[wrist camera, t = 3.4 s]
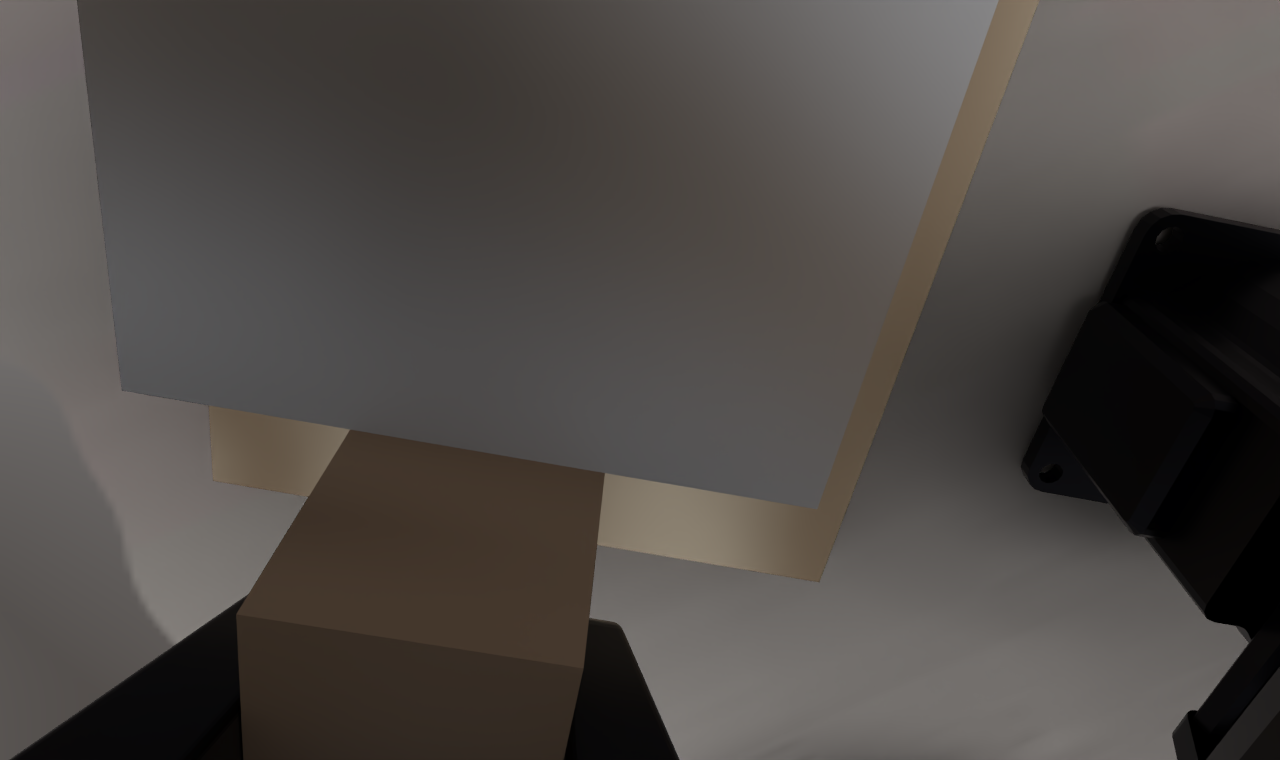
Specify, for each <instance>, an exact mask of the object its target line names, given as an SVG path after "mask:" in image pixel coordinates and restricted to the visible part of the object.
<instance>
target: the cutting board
mask: <svg viewBox="0 0 1280 760" xmlns="http://www.w3.org/2000/svg"><path fill="white" fill-rule="evenodd" d="M1038 3H1039V0H999V1H998V4H997V7H996V9H995V12H994V15H993V18H992V21H991V23H990V26H989V29H988V32H987V35H986V37H985V40H984V43H983V46H982V49H981V51H980V54H979V57H978V60H977V63H976V65H975V68H974V71H973V74H972V77H971V79H970V82H969V85H968V88H967V91H966V93H965V96H964V99H963V102H962V105H961V107H960V110H959V113H958V116H957V119H956V121H955V124H954V127H953V130H952V133H951V136H950V138H949V141H948V144H947V147H946V150H945V152H944V155H943V158H942V161H941V164H940V166H939V169H938V172H937V175H936V178H935V180H934V183H933V186H932V189H931V192H930V194H929V197H928V200H927V203H926V206H925V208H924V211H923V214H922V217H921V220H920V222H919V225H918V228H917V231H916V234H915V236H914V239H913V242H912V245H911V248H910V250H909V253H908V256H907V259H906V262H905V265H904V267H903V270H902V273H901V276H900V279H899V281H898V284H897V287H896V290H895V293H894V295H893V298H892V301H891V304H890V307H889V309H888V312H887V315H886V318H885V321H884V323H883V326H882V329H881V332H880V335H879V337H878V340H877V343H876V346H875V349H874V351H873V354H872V357H871V360H870V363H869V365H868V368H867V371H866V374H865V377H864V379H863V382H862V385H861V388H860V391H859V393H858V396H857V399H856V402H855V405H854V408H853V410H852V413H851V416H850V419H849V422H848V424H847V427H846V430H845V433H844V436H843V438H842V441H841V444H840V447H839V450H838V452H837V455H836V458H835V461H834V464H833V466H832V469H831V472H830V475H829V478H828V480H827V483H826V486H825V489H824V492H823V494H822V497H821V500H820V503H819V506H818V508H817V509H812V508H806V507H801V506H795V505H789V504H783V503H777V502H771V501H765V500H760V499H754V498H748V497H742V496H736V495H730V494H724V493H719V492H713V491H707V490H701V489H695V488H689V487H684V486H678V485H672V484H666V483H660V482H654V481H648V480H643V479H637V478H631V477H625V476H619V475H613V474H607V473H605V477H604V486H603V495H602V504H601V513H600V522H599V532H598V541H597V545H600V546H606V547H612V548H618V549H624V550H630V551H636V552H642V553H647V554H653V555H659V556H665V557H671V558H677V559H683V560H689V561H695V562H701V563H707V564H713V565H719V566H725V567H731V568H737V569H743V570H749V571H755V572H761V573H767V574H773V575H779V576H785V577H791V578H797V579H803V580H809V581H815V582H820V579H821V576H822V574H823V571H824V568H825V566H826V563H827V560H828V558H829V555H830V552H831V550H832V547H833V545H834V542H835V539H836V537H837V534H838V531H839V529H840V526H841V523H842V521H843V518H844V515H845V513H846V510H847V508H848V505H849V502H850V500H851V497H852V494H853V492H854V489H855V486H856V484H857V481H858V478H859V476H860V473H861V471H862V468H863V465H864V463H865V460H866V457H867V455H868V452H869V449H870V447H871V444H872V441H873V439H874V436H875V434H876V431H877V428H878V426H879V423H880V420H881V418H882V415H883V412H884V410H885V407H886V404H887V402H888V399H889V397H890V394H891V391H892V389H893V386H894V383H895V381H896V378H897V375H898V373H899V370H900V367H901V365H902V362H903V360H904V357H905V354H906V352H907V349H908V346H909V344H910V341H911V338H912V336H913V333H914V330H915V328H916V325H917V323H918V320H919V317H920V315H921V312H922V309H923V307H924V304H925V301H926V299H927V296H928V293H929V291H930V288H931V286H932V283H933V280H934V278H935V275H936V272H937V270H938V267H939V264H940V262H941V259H942V257H943V254H944V251H945V249H946V246H947V243H948V241H949V238H950V235H951V233H952V230H953V227H954V225H955V222H956V220H957V217H958V214H959V212H960V209H961V206H962V204H963V201H964V198H965V196H966V193H967V190H968V188H969V185H970V183H971V180H972V177H973V175H974V172H975V169H976V167H977V164H978V161H979V159H980V156H981V153H982V151H983V148H984V146H985V143H986V140H987V138H988V135H989V132H990V130H991V127H992V124H993V122H994V119H995V116H996V114H997V111H998V109H999V106H1000V103H1001V101H1002V98H1003V95H1004V93H1005V90H1006V87H1007V85H1008V82H1009V79H1010V77H1011V74H1012V72H1013V69H1014V66H1015V64H1016V61H1017V58H1018V56H1019V53H1020V50H1021V48H1022V45H1023V42H1024V40H1025V37H1026V35H1027V32H1028V29H1029V27H1030V24H1031V21H1032V19H1033V16H1034V13H1035V11H1036V8H1037V5H1038ZM209 419H210V436H211V453H212V470H213V481H217V482H223V483H229V484H235V485H241V486H247V487H253V488H259V489H265V490H271V491H277V492H283V493H289V494H295V495H301V496H307V497H309V495H310V494H311V492H312V491H313V489H314V487H315V486H316V484H317V482H318V481H319V479H320V478H321V476H322V474H323V473H324V471H325V469H326V468H327V466H328V465H329V463H330V461H331V460H332V458H333V456H334V455H335V453H336V452H337V450H338V448H339V447H340V445H341V443H342V442H343V440H344V439H345V437H346V435H347V434H348V432H349V431H350V429H344V428H338V427H333V426H327V425H321V424H315V423H309V422H303V421H297V420H292V419H286V418H280V417H274V416H268V415H262V414H256V413H251V412H245V411H239V410H233V409H227V408H221V407H216V406H210V405H209Z"/></svg>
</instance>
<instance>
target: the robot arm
mask: <svg viewBox="0 0 1280 760" xmlns="http://www.w3.org/2000/svg"><path fill="white" fill-rule="evenodd" d="M1168 227H1173V232H1172V236H1171V237H1170V238H1169V239H1168V240H1167V241H1166V242H1164V243H1163V244H1161V245H1156V244H1155V243H1156V239H1157V236H1158V235H1159V234H1160V233H1161V231H1163V230H1164V229H1166V228H1168ZM1042 412H1043V414H1044V417H1043V419H1042V421H1041V423H1040V425H1039V427H1038V429H1037V431H1036V434H1035V436H1034V438H1033V440H1032V442H1031V444H1030V446H1029V448H1028V450H1027V452H1026V454H1025V456H1024V458H1023V461H1022V465H1021V468H1022V472H1023V474H1024V476H1025V478H1026V479H1027V481H1028V482H1029V484H1030V485H1031V486H1032V487H1033V488H1034V489H1036V490H1039V491H1042V492H1047V493H1052V494H1058V495H1064V496H1069V497H1075V498H1081V499H1086V500H1092V501H1098V502H1103V503H1109V505H1110V506H1111V507H1112V509H1113V510H1114V511H1115V512H1116V514H1117V515H1118V516H1119V518H1120V519H1121V520H1122V522H1123V523H1124V524H1125V526H1126V527H1127V528H1128V530H1129V531H1130V532H1131V533H1133V534H1134V535H1137V536H1143V537H1145V539H1146V540H1147V541H1148V543H1149V544H1150V545H1151V547H1152V548H1153V549H1154V550H1155V552H1156V553H1157V554H1158V556H1159V557H1160V558H1161V560H1162V561H1163V562H1164V563H1165V565H1166V566H1167V567H1168V569H1169V570H1170V571H1171V573H1172V574H1173V575H1174V576H1175V578H1176V579H1177V580H1178V582H1179V583H1180V584H1181V586H1182V587H1183V588H1184V589H1185V591H1186V592H1187V593H1188V595H1189V596H1190V597H1191V599H1192V600H1193V601H1194V602H1195V604H1196V605H1197V606H1198V608H1199V609H1200V610H1201V612H1202V613H1203V614H1204V615H1205V617H1206V618H1207V619H1209V620H1211V621H1213V622H1217V623H1222V624H1228V625H1234V626H1236V627H1237V629H1238V630H1239V631H1240V632H1241V634H1242V635H1243V636H1244V637H1245V639H1246V640H1247V641H1248V642H1249V644H1248V645H1247V646H1246V648H1245V649H1244V650H1243V652H1242V653H1241V654H1240V656H1239V657H1238V658H1237V660H1236V661H1235V662H1234V664H1233V665H1232V666H1231V668H1230V669H1229V670H1228V672H1227V673H1226V674H1225V676H1224V677H1223V678H1222V679H1221V681H1220V682H1219V683H1218V685H1217V686H1216V687H1215V689H1214V690H1213V691H1212V693H1211V694H1210V695H1209V697H1208V698H1207V699H1206V701H1205V702H1204V703H1203V705H1202V706H1201V707H1200V709H1199V710H1198V711H1196V710H1191V711H1189V712H1188V713H1187V714H1186V715H1185V717H1184V718H1183V719H1182V721H1181V722H1180V723H1179V725H1178V726H1177V728H1176V729H1175V730H1174V732H1173V736H1172V737H1173V742H1174V746H1175V750H1176V755H1177V759H1178V760H1280V230H1277V229H1272V228H1267V227H1262V226H1257V225H1252V224H1247V223H1242V222H1237V221H1232V220H1227V219H1222V218H1217V217H1212V216H1208V215H1203V214H1198V213H1193V212H1188V211H1183V210H1178V209H1173V208H1160V209H1158V210H1155V211H1152V212H1150V213H1149V214H1147V215H1146V216H1145V217H1143V218H1142V219H1141V220H1140V222H1139V223H1138V224H1137V226H1136V227H1135V229H1134V231H1133V233H1132V235H1131V237H1130V239H1129V241H1128V243H1127V245H1126V247H1125V250H1124V252H1123V254H1122V256H1121V258H1120V260H1119V262H1118V264H1117V266H1116V268H1115V270H1114V272H1113V274H1112V276H1111V278H1110V281H1109V283H1108V285H1107V287H1106V289H1105V291H1104V293H1103V295H1102V297H1101V299H1100V301H1099V303H1098V304H1097V305H1096V306H1095V307H1094V308H1092V309H1091V310H1090V311H1089V312H1088V315H1087V317H1086V319H1085V321H1084V323H1083V325H1082V327H1081V329H1080V331H1079V333H1078V335H1077V337H1076V340H1075V342H1074V344H1073V346H1072V348H1071V350H1070V352H1069V354H1068V356H1067V358H1066V360H1065V362H1064V365H1063V367H1062V369H1061V371H1060V373H1059V375H1058V377H1057V379H1056V381H1055V383H1054V385H1053V387H1052V390H1051V392H1050V394H1049V396H1048V398H1047V400H1046V402H1045V404H1044V406H1043V409H1042ZM1049 464H1055V466H1054V467H1053V468H1052V469H1051V470H1050V471H1048V472H1045V473H1040V471H1041V470H1042V468H1043V467H1045V466H1047V465H1049ZM247 596H248V595H246V596H245V597H244V598H242V599H241V600H239V601H238V602H236V603H235V604H234V605H232V606H231V607H229V608H228V609H226V610H225V611H223V612H222V613H221V614H219V615H218V616H216V617H215V618H213V619H212V620H210V621H209V622H208V623H206V624H205V625H203V626H202V627H200V628H199V629H197V630H196V631H195V632H193V633H192V634H190V635H189V636H187V637H186V638H184V639H183V640H182V641H180V642H179V643H177V644H176V645H174V646H173V647H172V648H170V649H169V650H167V651H166V652H164V653H163V654H161V655H160V656H159V657H157V658H156V659H155V660H153V661H151V662H150V663H149V664H147V665H146V666H144V667H143V668H141V669H140V670H138V671H137V672H135V673H134V674H133V675H131V676H130V677H128V678H127V679H125V680H124V681H122V682H121V683H120V684H118V685H117V686H115V687H114V688H112V689H111V690H109V691H108V692H107V693H105V694H104V695H102V696H101V697H99V698H98V699H96V700H95V701H94V702H92V703H91V704H89V705H88V706H87V707H85V708H84V709H82V710H81V711H79V712H78V713H76V714H75V715H73V716H72V717H70V718H69V719H68V720H66V721H65V722H63V723H62V724H60V725H59V726H58V727H56V728H55V729H53V730H52V731H50V732H49V733H47V734H46V735H45V736H43V737H42V738H40V739H39V740H37V741H36V742H34V743H33V744H31V745H30V746H29V747H27V748H26V749H24V750H23V751H21V752H20V753H19V754H17V755H16V756H14V757H13V758H12V759H10V760H243V743H242V722H241V702H240V681H239V661H238V641H237V620H236V614H237V612H238V611H239V609H240V607H241V606H242V604H243V602H244V601H245V599H246V598H247ZM564 760H679V758H678V755H677V753H676V751H675V748H674V746H673V744H672V741H671V739H670V737H669V735H668V732H667V730H666V728H665V725H664V723H663V721H662V719H661V716H660V714H659V712H658V709H657V707H656V705H655V702H654V700H653V698H652V696H651V693H650V691H649V689H648V686H647V684H646V682H645V679H644V677H643V675H642V673H641V670H640V668H639V666H638V663H637V661H636V659H635V657H634V654H633V652H632V650H631V647H630V645H629V643H628V640H627V638H626V636H625V634H624V632H623V630H622V628H621V626H620V625H618V624H617V623H615V622H610V621H604V620H598V619H592V618H589V623H588V632H587V641H586V650H585V660H584V669H583V673H582V678H581V682H580V687H579V691H578V696H577V701H576V705H575V710H574V714H573V719H572V723H571V728H570V732H569V737H568V742H567V746H566V751H565V755H564Z"/></svg>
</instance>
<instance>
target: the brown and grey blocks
mask: <svg viewBox="0 0 1280 760" xmlns="http://www.w3.org/2000/svg"><path fill="white" fill-rule="evenodd" d="M998 1H999V0H77V5H78V14H79V23H80V31H81V40H82V49H83V57H84V66H85V75H86V83H87V92H88V101H89V109H90V118H91V127H92V135H93V144H94V153H95V161H96V170H97V179H98V187H99V196H100V205H101V213H102V222H103V231H104V240H105V248H106V257H107V266H108V274H109V283H110V292H111V300H112V309H113V318H114V326H115V335H116V344H117V352H118V361H119V370H120V378H121V387H122V391H128V392H134V393H139V394H145V395H151V396H157V397H163V398H169V399H175V400H180V401H186V402H192V403H198V404H204V405H210V406H216V407H221V408H227V409H233V410H239V411H245V412H251V413H256V414H262V415H268V416H274V417H280V418H286V419H292V420H297V421H303V422H309V423H315V424H321V425H327V426H333V427H338V428H344V429H350V431H349V432H348V434H347V435H346V437H345V439H344V440H343V442H342V443H341V445H340V447H339V448H338V450H337V452H336V453H335V455H334V456H333V458H332V460H331V461H330V463H329V465H328V466H327V468H326V469H325V471H324V473H323V474H322V476H321V478H320V479H319V481H318V482H317V484H316V486H315V487H314V489H313V491H312V492H311V494H310V495H309V497H308V499H307V500H306V502H305V504H304V505H303V507H302V508H301V510H300V512H299V513H298V515H297V516H296V518H295V520H294V521H293V523H292V525H291V526H290V528H289V529H288V531H287V533H286V534H285V536H284V538H283V539H282V541H281V542H280V544H279V546H278V547H277V549H276V551H275V552H274V554H273V555H272V557H271V559H270V560H269V562H268V564H267V565H266V567H265V568H264V570H263V572H262V573H261V575H260V577H259V578H258V580H257V581H256V583H255V585H254V586H253V588H252V589H251V591H250V593H249V594H248V596H247V598H246V599H245V601H244V602H243V604H242V606H241V607H240V609H239V611H238V612H237V614H236V620H237V641H238V661H239V681H240V702H241V722H242V743H243V760H564V755H565V751H566V746H567V742H568V737H569V732H570V728H571V723H572V719H573V714H574V710H575V705H576V701H577V696H578V691H579V687H580V682H581V678H582V673H583V669H584V660H585V650H586V641H587V632H588V623H589V614H590V605H591V596H592V586H593V577H594V568H595V559H596V550H597V541H598V532H599V522H600V513H601V504H602V495H603V486H604V477H605V473H607V474H613V475H619V476H625V477H631V478H637V479H643V480H648V481H654V482H660V483H666V484H672V485H678V486H684V487H689V488H695V489H701V490H707V491H713V492H719V493H724V494H730V495H736V496H742V497H748V498H754V499H760V500H765V501H771V502H777V503H783V504H789V505H795V506H801V507H806V508H812V509H817V508H818V506H819V503H820V500H821V497H822V494H823V492H824V489H825V486H826V483H827V480H828V478H829V475H830V472H831V469H832V466H833V464H834V461H835V458H836V455H837V452H838V450H839V447H840V444H841V441H842V438H843V436H844V433H845V430H846V427H847V424H848V422H849V419H850V416H851V413H852V410H853V408H854V405H855V402H856V399H857V396H858V393H859V391H860V388H861V385H862V382H863V379H864V377H865V374H866V371H867V368H868V365H869V363H870V360H871V357H872V354H873V351H874V349H875V346H876V343H877V340H878V337H879V335H880V332H881V329H882V326H883V323H884V321H885V318H886V315H887V312H888V309H889V307H890V304H891V301H892V298H893V295H894V293H895V290H896V287H897V284H898V281H899V279H900V276H901V273H902V270H903V267H904V265H905V262H906V259H907V256H908V253H909V250H910V248H911V245H912V242H913V239H914V236H915V234H916V231H917V228H918V225H919V222H920V220H921V217H922V214H923V211H924V208H925V206H926V203H927V200H928V197H929V194H930V192H931V189H932V186H933V183H934V180H935V178H936V175H937V172H938V169H939V166H940V164H941V161H942V158H943V155H944V152H945V150H946V147H947V144H948V141H949V138H950V136H951V133H952V130H953V127H954V124H955V121H956V119H957V116H958V113H959V110H960V107H961V105H962V102H963V99H964V96H965V93H966V91H967V88H968V85H969V82H970V79H971V77H972V74H973V71H974V68H975V65H976V63H977V60H978V57H979V54H980V51H981V49H982V46H983V43H984V40H985V37H986V35H987V32H988V29H989V26H990V23H991V21H992V18H993V15H994V12H995V9H996V7H997V4H998Z"/></svg>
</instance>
